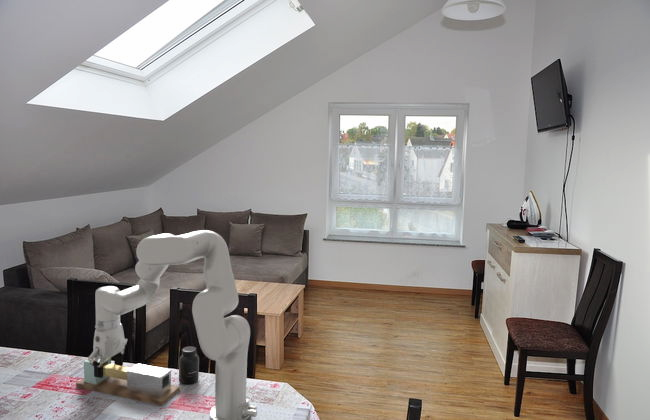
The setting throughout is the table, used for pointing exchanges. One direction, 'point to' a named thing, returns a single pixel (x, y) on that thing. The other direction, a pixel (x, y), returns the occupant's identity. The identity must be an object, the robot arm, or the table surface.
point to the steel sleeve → (149, 379)
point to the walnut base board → (120, 389)
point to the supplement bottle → (188, 366)
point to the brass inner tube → (115, 371)
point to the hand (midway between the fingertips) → (109, 370)
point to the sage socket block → (90, 372)
